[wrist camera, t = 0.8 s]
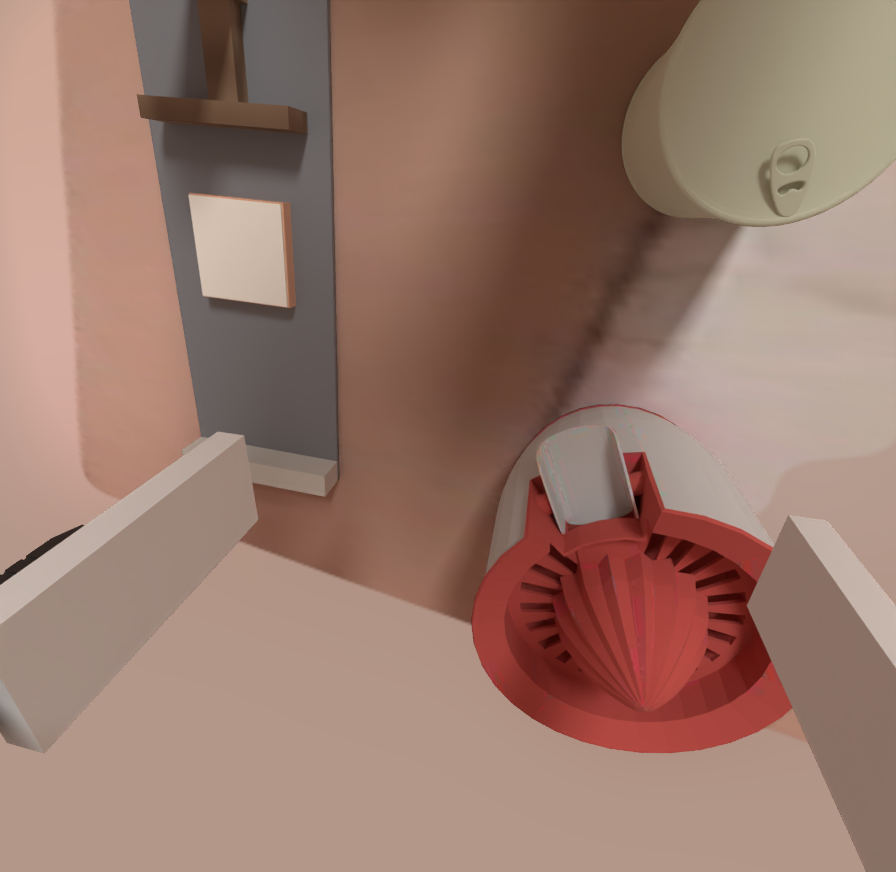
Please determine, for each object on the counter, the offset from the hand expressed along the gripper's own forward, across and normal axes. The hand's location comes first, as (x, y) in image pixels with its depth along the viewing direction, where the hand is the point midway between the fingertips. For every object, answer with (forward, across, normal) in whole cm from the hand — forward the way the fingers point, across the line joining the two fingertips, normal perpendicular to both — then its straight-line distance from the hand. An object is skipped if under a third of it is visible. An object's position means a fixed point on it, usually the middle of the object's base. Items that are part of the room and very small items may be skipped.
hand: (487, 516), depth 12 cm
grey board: (+24, -21, +3) cm, 32 cm away
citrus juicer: (+24, +6, -11) cm, 28 cm away
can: (+25, +8, +11) cm, 28 cm away
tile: (+24, -21, +2) cm, 32 cm away
